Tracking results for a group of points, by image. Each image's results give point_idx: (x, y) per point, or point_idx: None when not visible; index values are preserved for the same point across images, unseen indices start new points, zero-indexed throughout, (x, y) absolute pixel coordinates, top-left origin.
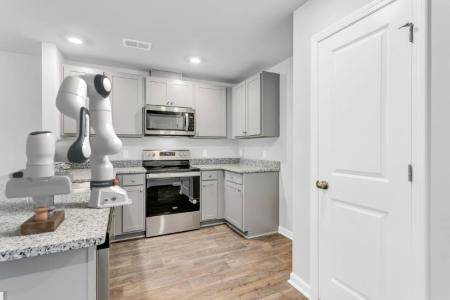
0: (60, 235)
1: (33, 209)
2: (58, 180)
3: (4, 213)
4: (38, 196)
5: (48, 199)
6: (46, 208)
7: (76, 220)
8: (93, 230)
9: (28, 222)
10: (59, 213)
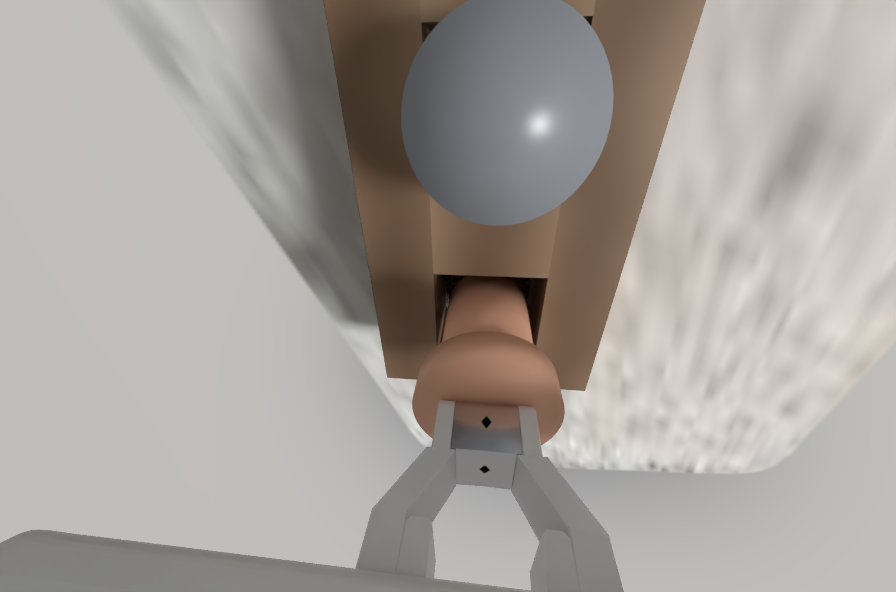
0: (601, 402)
1: (424, 423)
2: None
3: None
4: (428, 558)
5: (577, 512)
6: (541, 438)
7: (760, 111)
8: (773, 407)
9: (414, 349)
10: (630, 148)
